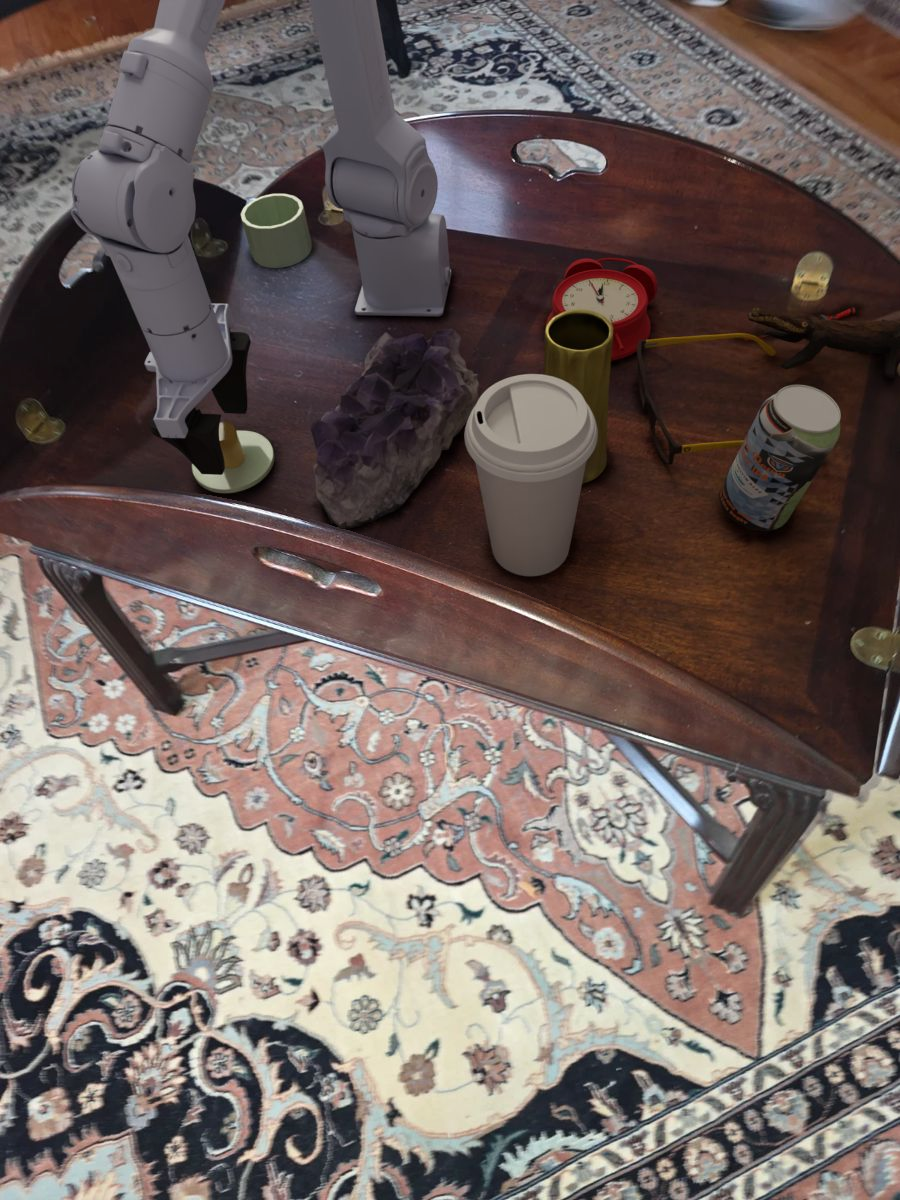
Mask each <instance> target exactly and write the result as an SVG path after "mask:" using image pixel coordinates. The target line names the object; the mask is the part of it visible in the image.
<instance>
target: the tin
mask: <svg viewBox="0 0 900 1200" xmlns="http://www.w3.org/2000/svg"><path fill="white" fill-rule="evenodd" d="M240 218H241V223H242V227H243V230H244V233H245V236H246V239H247V243H248V244H247V245H248V247H249V251H250V254H251V257H252V260H253V261H254V262H255V263H256V264H258V265H259V266H261V267H265V268H269V269H282V268H287V267H291V266H294V265H296V264H299V263H300V262H302V261H303V260H305V259H306V258H307V257H308V256H309V255H310V253H311V251H312V248H313V245H312V238H311V234H310V229H309V226H308V220H307V216H306V211H305V208H304V203H303V201H302V200H301V199H299V198H298V197H297V196H296V195H292V194H288V193H270V194H265V195H261V196H259V197H257V198H255V199H252V200H251V201H249V202H248V203H247V204H246V205H245V206H243V208H242V210H241V212H240Z"/></svg>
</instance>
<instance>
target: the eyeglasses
mask: <svg viewBox="0 0 900 1200" xmlns="http://www.w3.org/2000/svg"><path fill="white" fill-rule="evenodd" d="M756 336H757V335H753V334H751V333H744V332H742V333H741V332H736V333H720V334H703V335H690V336H676V337H675V336H674V337H661V338H651V339H647V340H639V342H638V348H637V351H636V359H637V375H638V377H637V378H638V392H639V397H640V398H639V399H640V403H641V405H642V409H643V410H644V409H647V412H648V422H649V429H650V433H651V437H652V440H653V443H654V445H655V448H656V450H657V453H658V455H659V456H660V457H661V459H662V460H663V461H664V463H665V464H666V465H668V466H670V465H673V463H674V459H675V455H678V454H679V455H680V454H688V453H695V452H705V451H709V450H717V449H726V448H736V447H741V446H742V444H743V442H744V440H745V439H743V440H728V441H727V440H726V441H712V442H702V443H700V442H699V443H691V444H681V445H680V444H678V443H676V441H675V440H674V438H673V437H672V435H671V433H669V431H668V429H667V427H666V425H665V423H664V422H663V419H662V417H661V414H660V412H659V410H658V408H657V405H656V403H655V401H654V398H653V397H651V395H650V388H649V382H648V378H647V374H646V371H645V366H644V363H643V357H642V350H643V349H649V348H654V347H655V348H656V347H664V346H665V347H666V346H669V345H677V344H678V345H679V344H687V343H697V342H707V341H717V340H727V339H735V338H739V339H740V338H741V339H744V338H748V339H751V340H750V341H754V342H755V343H757V344H758V345H759V347H761V349H762V350H763V351H764V352H765V353H766V354H767V355H768V356H771V357H773V356H776V353H777V352H776V350H775V348H774V347H772V346H770V345H769V344H768V343H766V342H765V341H764V340H762V338H758V337H756ZM657 423H658V425H659V427H660V429H661V431H662V433H663V435H664V437H665V439H666V441H667V443H668V444H667V445H668V457H667V456H666V455H665V453H664V452H663V449H662V448H661V445H660V442H659V440H658V437H657V433H656V425H657Z"/></svg>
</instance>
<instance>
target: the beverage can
mask: <svg viewBox="0 0 900 1200" xmlns="http://www.w3.org/2000/svg"><path fill="white" fill-rule="evenodd" d="M841 416H842V415H841V410H840V407H839V405H838V404H837V402H836V401H835V400H834V399H833V398H832V397H831V396H830V395H829V394H827V393H826V392H825V391H823V390H821V389H818V388H816V387H814V386H810V385H805V384H790V385H787V386H784V387H782V388H781V389H779V390H778V391H777V392H776V393H774V394H773V395H771V396H770V397H768V398H767V399H766V400H765V401H764V402H763V403H762V404H761V407H760V408H759V410H758V412H757V414H756V416H755V418H754V420H753V422H752V424H751V426H750V428H749V430H748V432H747V434H746V436H745V438H744V439H743V440H744V442H743V444H742V446H740V447H739V450H738V452H737V454H736V456H735V458H734V460H733V462H732V464H731V465H730V468H729V470H728V472H727V475H726V476H725V478H724V480H723V482H722V484H721V486H720V488H719V491H718V500H719V504H720V507H721V509H722V511H723V512H724V513H725V514H726V516H728V518H730V519H731V521H733V522H735V523H737V524H738V525H740V526H741V527H744V528H747V529H749V530H753V531H758V532H768V531H773V530H774V531H775V530H777V529H779V528H781V527H783V526H784V525H785V524H786V523H787V522H788V521H789V519H790V518H791V516H792V515H793V513H794V511H795V509H796V508H797V507H798V505H799V503H800V502H801V500H802V498H803V497H804V495H805V493H806V492H807V490H808V489H809V488H810V485H811V484H812V482H813V480H814V479H815V477H816V476H817V474H818V473H819V471H820V470H821V468H822V466H823V464H824V463H825V461H826V460H827V458H828V457H829V455H830V453H831V452H832V451H833V448H834V447H835V445H836V443H837V442H838V440H839V437H840V435H841V422H840V421H841Z"/></svg>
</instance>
